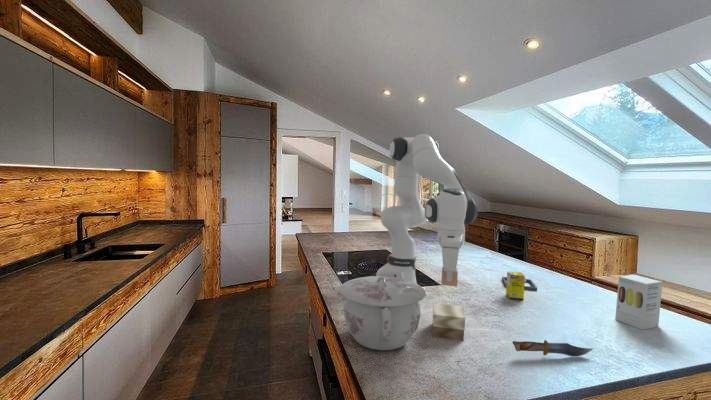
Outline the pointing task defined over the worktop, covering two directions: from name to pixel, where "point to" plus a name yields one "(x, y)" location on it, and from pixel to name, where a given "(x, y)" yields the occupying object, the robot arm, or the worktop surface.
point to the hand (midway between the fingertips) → (449, 277)
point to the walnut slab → (448, 333)
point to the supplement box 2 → (638, 301)
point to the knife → (551, 348)
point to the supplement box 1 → (515, 285)
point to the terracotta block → (454, 278)
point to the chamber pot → (382, 310)
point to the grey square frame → (524, 286)
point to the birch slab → (448, 316)
